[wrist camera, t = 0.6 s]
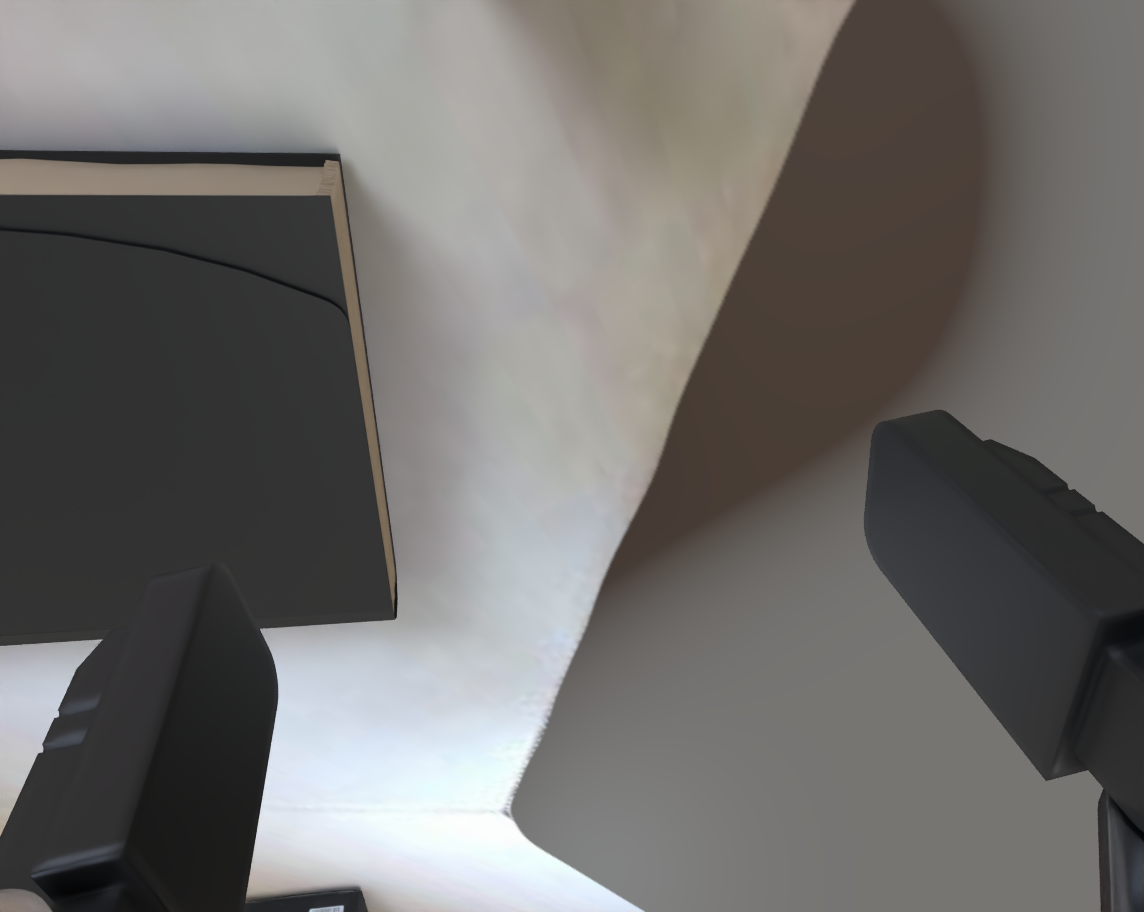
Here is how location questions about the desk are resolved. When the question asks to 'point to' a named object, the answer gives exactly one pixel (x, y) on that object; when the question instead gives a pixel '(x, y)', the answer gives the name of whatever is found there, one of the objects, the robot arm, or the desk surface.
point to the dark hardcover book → (184, 390)
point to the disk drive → (312, 903)
